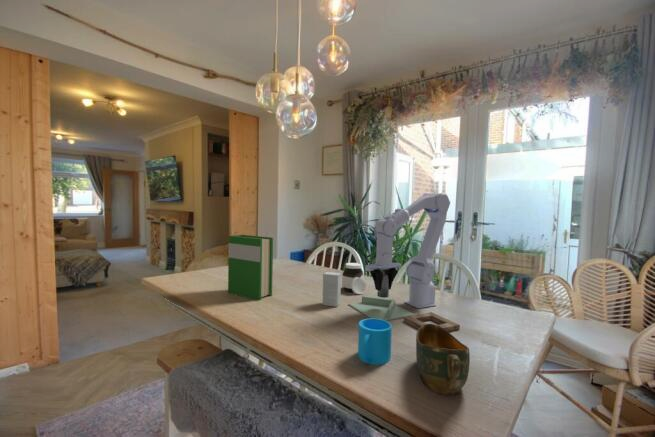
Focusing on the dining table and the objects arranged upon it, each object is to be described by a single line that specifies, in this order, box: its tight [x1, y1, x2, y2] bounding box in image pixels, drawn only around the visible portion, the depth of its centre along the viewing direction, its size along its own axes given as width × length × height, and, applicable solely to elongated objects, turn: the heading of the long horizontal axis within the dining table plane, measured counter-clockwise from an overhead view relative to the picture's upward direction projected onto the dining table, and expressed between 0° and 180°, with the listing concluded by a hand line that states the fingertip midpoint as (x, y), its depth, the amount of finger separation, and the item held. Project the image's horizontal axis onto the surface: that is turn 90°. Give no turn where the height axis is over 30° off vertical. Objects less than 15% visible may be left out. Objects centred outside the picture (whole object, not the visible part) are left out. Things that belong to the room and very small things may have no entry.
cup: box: [415, 323, 471, 396], centre depth 67 cm, size 13×20×10 cm, turn 146°
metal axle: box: [376, 272, 390, 299], centre depth 111 cm, size 4×4×8 cm
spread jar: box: [341, 262, 367, 295], centre depth 135 cm, size 12×11×12 cm
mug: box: [357, 318, 393, 366], centre depth 75 cm, size 12×8×8 cm
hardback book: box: [227, 234, 274, 301], centre depth 126 cm, size 18×7×24 cm, turn 59°
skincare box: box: [322, 271, 342, 308], centre depth 116 cm, size 6×4×12 cm
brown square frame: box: [403, 311, 461, 333], centre depth 98 cm, size 12×12×2 cm
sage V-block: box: [348, 295, 416, 322], centre depth 111 cm, size 16×19×3 cm
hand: (383, 289), depth 111 cm, fingers closed on metal axle, 4 cm apart
